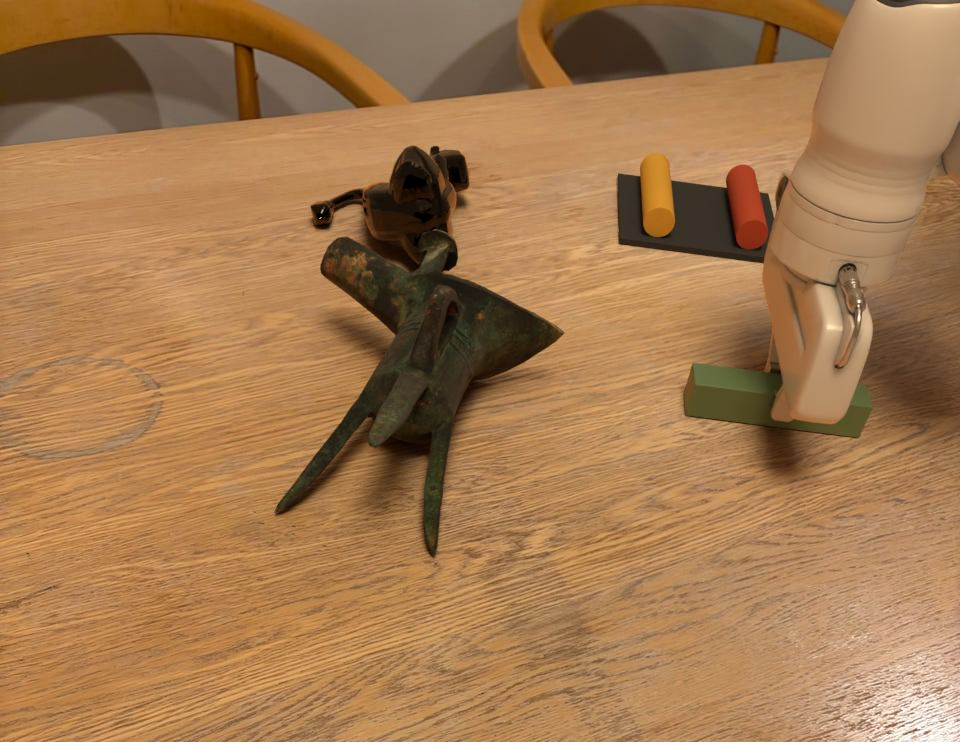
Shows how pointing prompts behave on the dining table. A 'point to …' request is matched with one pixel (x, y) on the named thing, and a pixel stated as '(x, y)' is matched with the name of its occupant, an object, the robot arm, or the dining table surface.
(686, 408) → the bar
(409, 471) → the dining table surface
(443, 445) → the vessel
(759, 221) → the rod stand
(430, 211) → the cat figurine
